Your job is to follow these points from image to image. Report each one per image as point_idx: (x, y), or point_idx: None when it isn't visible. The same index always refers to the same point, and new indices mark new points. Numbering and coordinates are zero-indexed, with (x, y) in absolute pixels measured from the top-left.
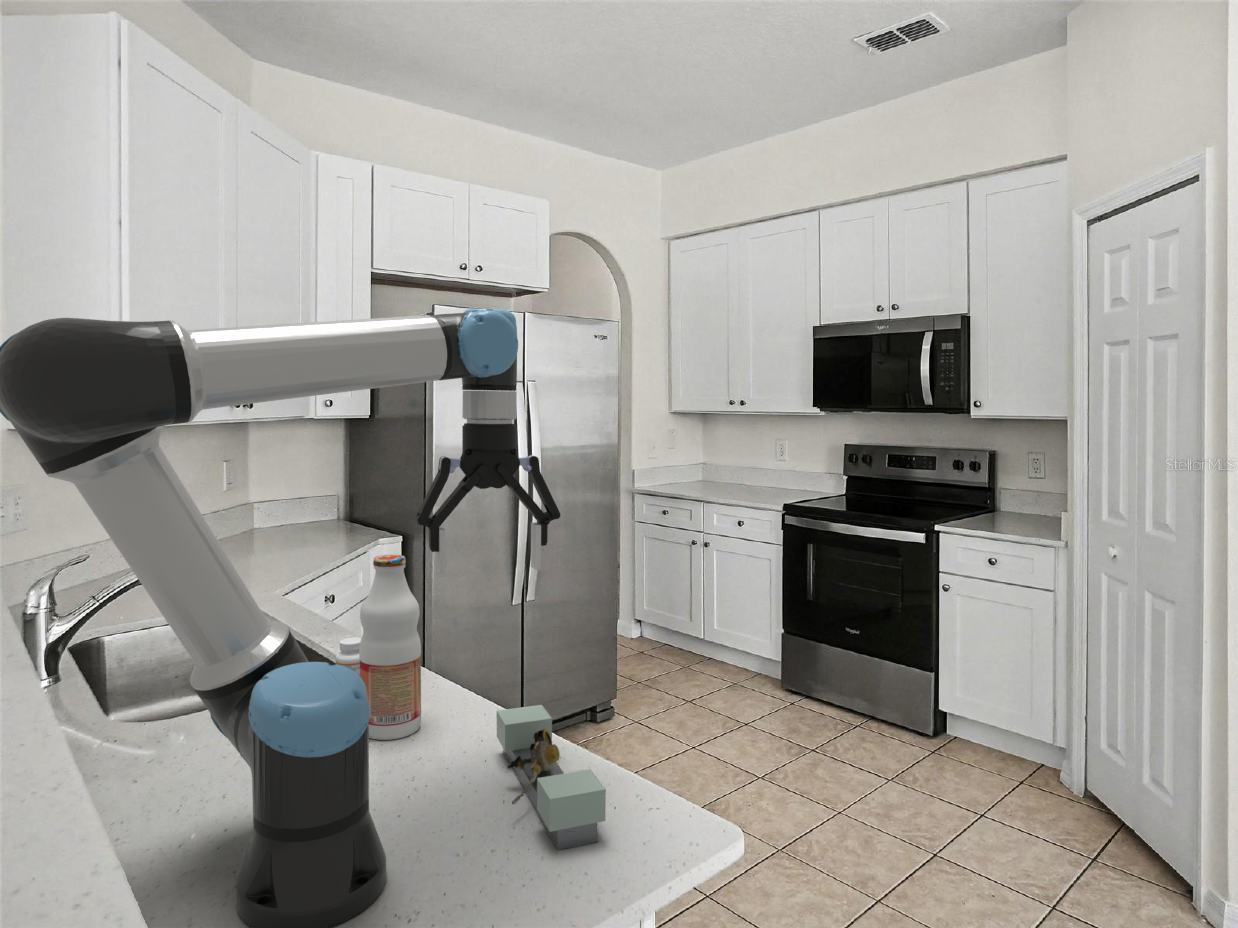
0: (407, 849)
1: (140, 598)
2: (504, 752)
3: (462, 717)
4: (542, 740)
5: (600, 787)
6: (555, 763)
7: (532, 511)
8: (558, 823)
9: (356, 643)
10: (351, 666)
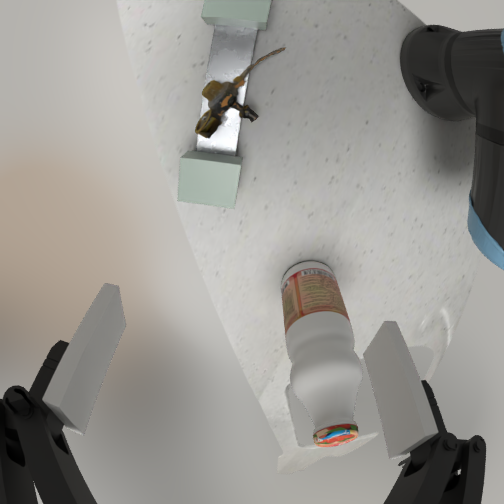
0: (378, 69)
1: (342, 455)
2: None
3: (239, 276)
4: (213, 112)
5: None
6: (203, 106)
7: (56, 464)
8: None
9: None
10: None
